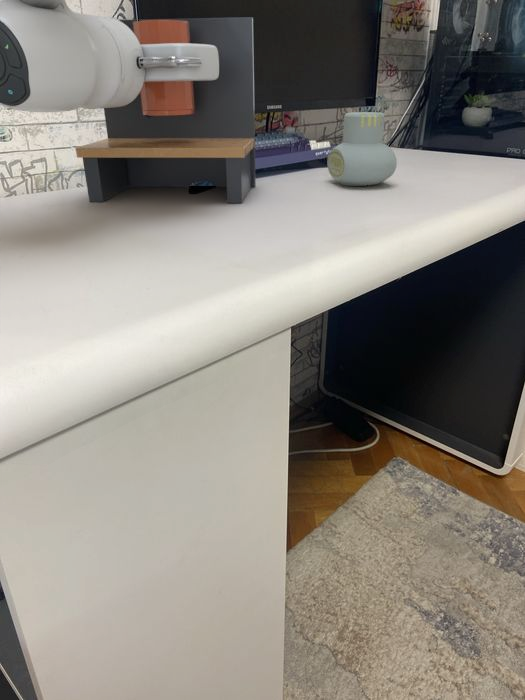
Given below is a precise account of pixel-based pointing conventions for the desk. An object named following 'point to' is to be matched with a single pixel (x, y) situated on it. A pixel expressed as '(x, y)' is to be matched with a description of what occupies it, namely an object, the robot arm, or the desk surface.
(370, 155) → the air freshener
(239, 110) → the shelf rack
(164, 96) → the cup
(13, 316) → the desk surface
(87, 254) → the desk surface
